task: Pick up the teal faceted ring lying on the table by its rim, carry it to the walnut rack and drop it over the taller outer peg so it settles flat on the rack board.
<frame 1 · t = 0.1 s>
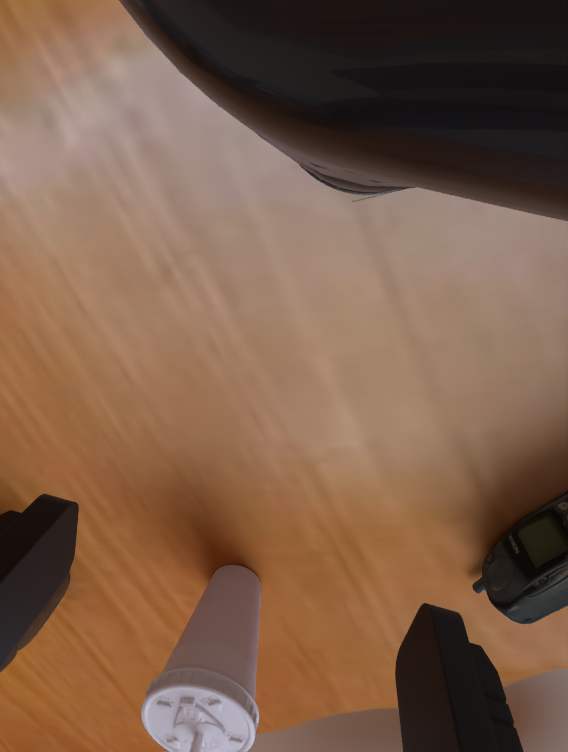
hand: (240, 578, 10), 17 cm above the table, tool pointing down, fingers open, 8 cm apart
utensil holder: (39, 566, 35), on the table
mobile phone: (560, 510, 28), on the table
smoothie: (236, 582, 34), on the table
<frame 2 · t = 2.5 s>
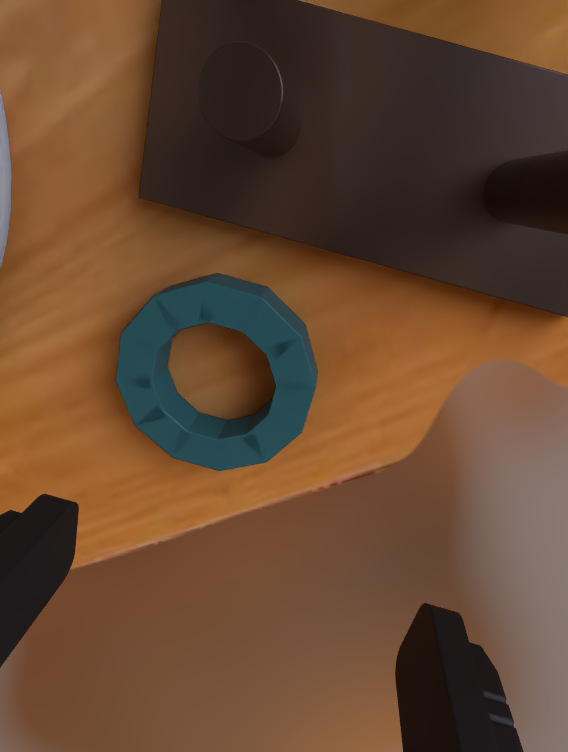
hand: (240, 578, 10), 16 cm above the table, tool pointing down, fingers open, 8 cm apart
rack: (389, 159, 21), on the table
teal faceted ring: (223, 367, 26), on the table
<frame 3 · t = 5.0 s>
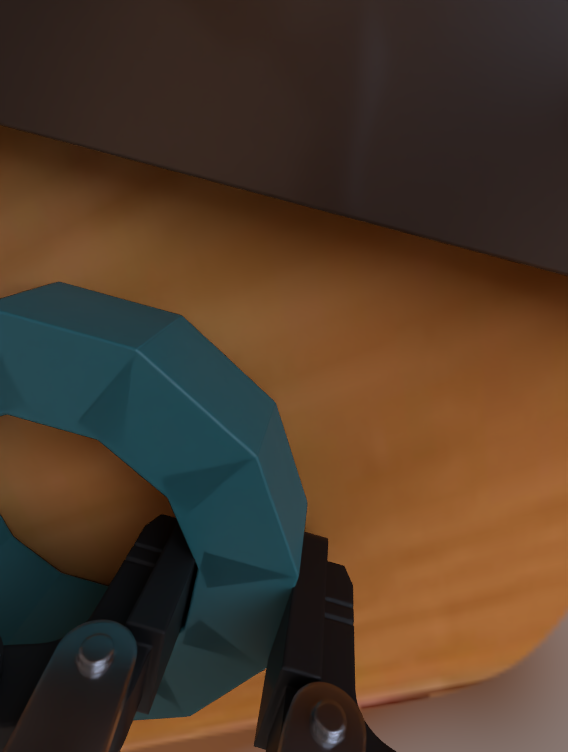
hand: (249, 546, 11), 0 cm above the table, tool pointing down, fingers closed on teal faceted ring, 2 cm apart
teal faceted ring: (100, 490, 12), on the table, touching gripper
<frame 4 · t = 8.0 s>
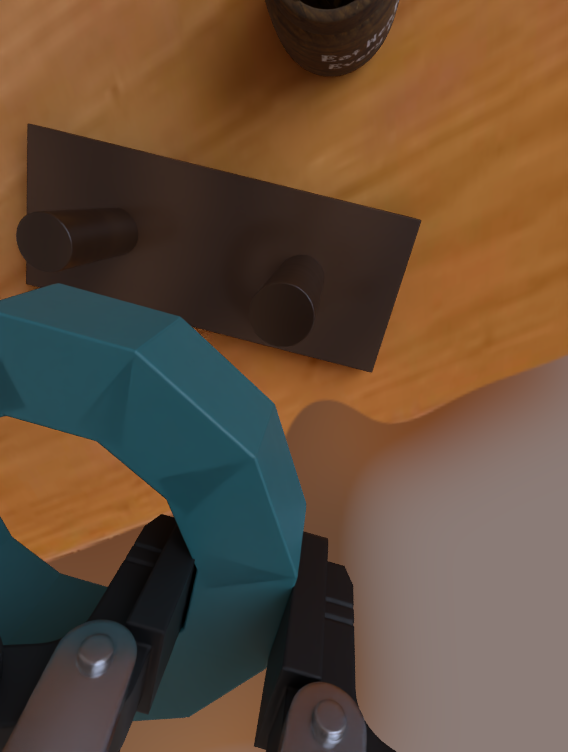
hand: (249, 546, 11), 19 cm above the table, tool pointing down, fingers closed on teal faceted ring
utensil holder: (336, 9, 23), on the table
rack: (215, 251, 28), on the table
teal faceted ring: (99, 491, 12), point 19 cm above the table, touching gripper
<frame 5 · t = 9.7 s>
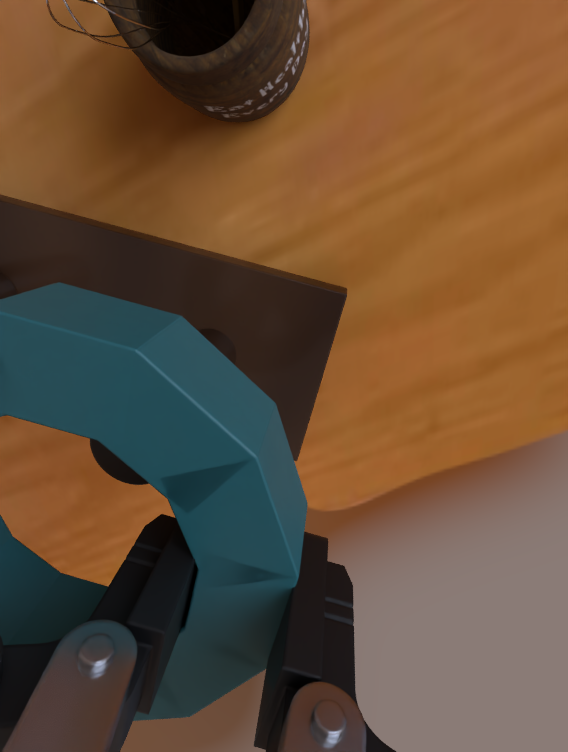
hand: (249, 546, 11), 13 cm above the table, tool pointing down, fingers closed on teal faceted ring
utensil holder: (242, 42, 19), on the table
rack: (115, 316, 24), on the table
teal faceted ring: (100, 490, 12), point 13 cm above the table, touching gripper
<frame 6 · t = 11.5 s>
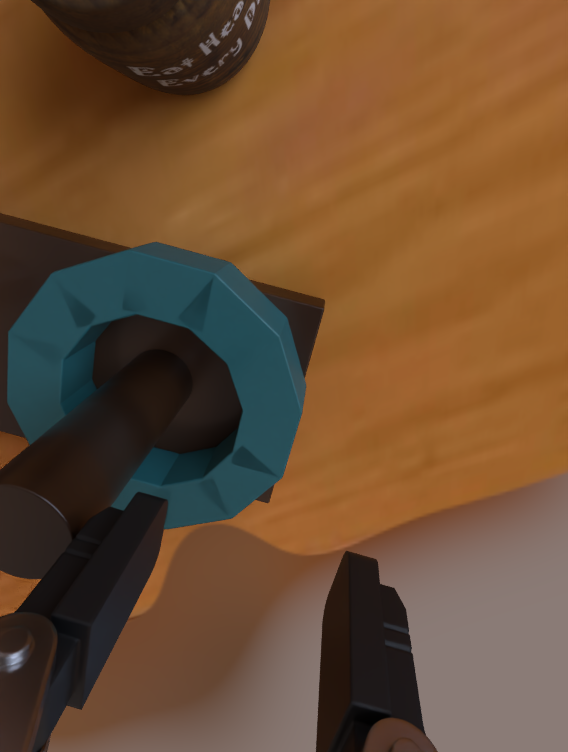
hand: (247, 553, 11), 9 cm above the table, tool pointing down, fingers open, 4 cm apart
rack: (50, 333, 20), on the table
teal faceted ring: (171, 381, 18), point 1 cm above the table, touching rack
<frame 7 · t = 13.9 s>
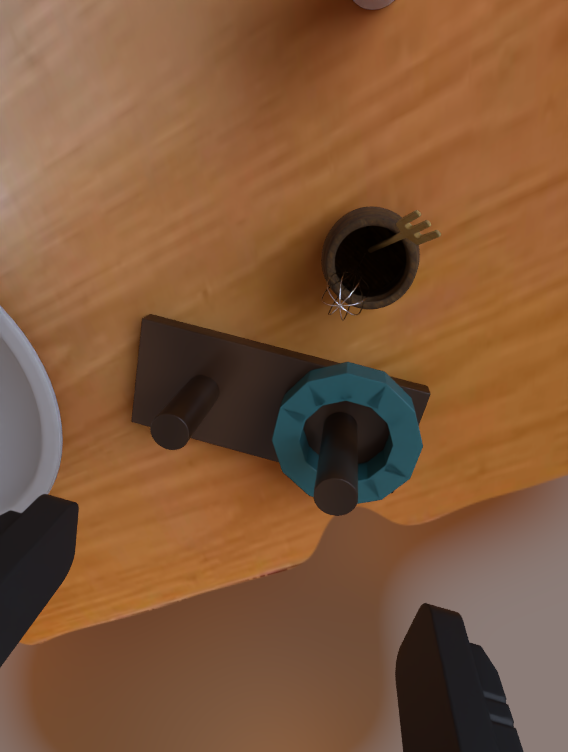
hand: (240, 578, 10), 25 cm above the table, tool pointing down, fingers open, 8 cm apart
utensil holder: (369, 250, 32), on the table
rack: (274, 400, 37), on the table
teal faceted ring: (346, 428, 35), point 1 cm above the table, touching rack
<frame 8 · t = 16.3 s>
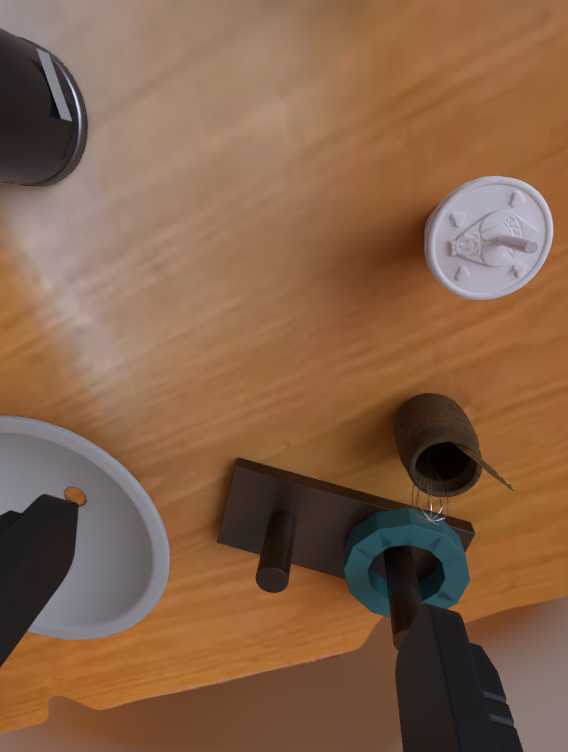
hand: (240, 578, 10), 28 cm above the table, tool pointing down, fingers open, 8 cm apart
utensil holder: (429, 420, 39), on the table
rack: (340, 527, 44), on the table
vessel sink basin: (77, 494, 46), on the table
smoothie: (449, 228, 33), on the table
teal faceted ring: (402, 555, 42), point 1 cm above the table, touching rack
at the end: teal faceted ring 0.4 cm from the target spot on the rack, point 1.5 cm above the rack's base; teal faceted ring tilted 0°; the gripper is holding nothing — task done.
